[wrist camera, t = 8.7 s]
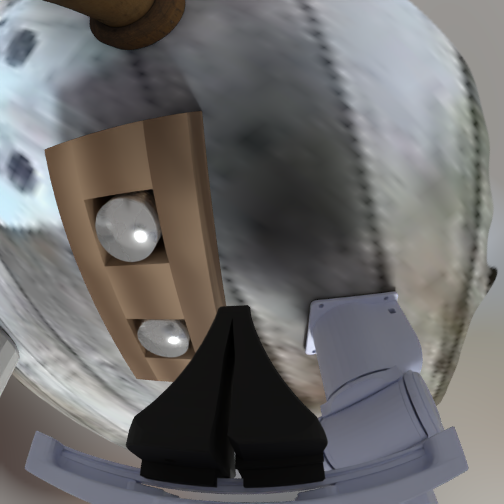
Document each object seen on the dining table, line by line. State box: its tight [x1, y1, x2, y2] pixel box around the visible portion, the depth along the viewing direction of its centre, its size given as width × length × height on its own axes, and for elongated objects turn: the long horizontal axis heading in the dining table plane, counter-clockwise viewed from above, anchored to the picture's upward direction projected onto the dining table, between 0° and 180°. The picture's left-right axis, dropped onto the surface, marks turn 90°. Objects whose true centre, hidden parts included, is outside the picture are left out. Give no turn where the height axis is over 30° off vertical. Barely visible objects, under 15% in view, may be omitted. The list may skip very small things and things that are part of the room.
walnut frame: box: [45, 111, 226, 382], centre depth 20 cm, size 10×23×5 cm, turn 3°
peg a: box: [95, 189, 162, 262], centre depth 18 cm, size 4×4×5 cm
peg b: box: [138, 319, 190, 357], centre depth 23 cm, size 4×4×5 cm
